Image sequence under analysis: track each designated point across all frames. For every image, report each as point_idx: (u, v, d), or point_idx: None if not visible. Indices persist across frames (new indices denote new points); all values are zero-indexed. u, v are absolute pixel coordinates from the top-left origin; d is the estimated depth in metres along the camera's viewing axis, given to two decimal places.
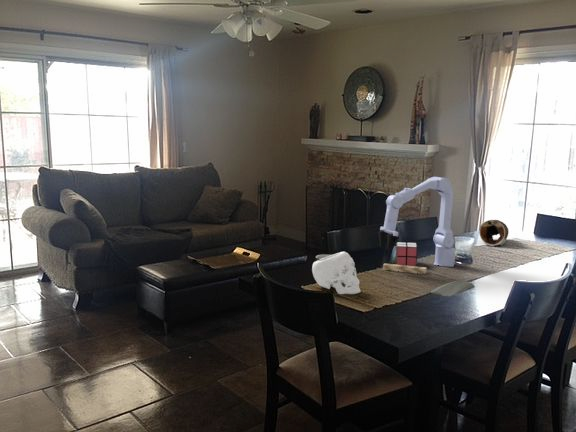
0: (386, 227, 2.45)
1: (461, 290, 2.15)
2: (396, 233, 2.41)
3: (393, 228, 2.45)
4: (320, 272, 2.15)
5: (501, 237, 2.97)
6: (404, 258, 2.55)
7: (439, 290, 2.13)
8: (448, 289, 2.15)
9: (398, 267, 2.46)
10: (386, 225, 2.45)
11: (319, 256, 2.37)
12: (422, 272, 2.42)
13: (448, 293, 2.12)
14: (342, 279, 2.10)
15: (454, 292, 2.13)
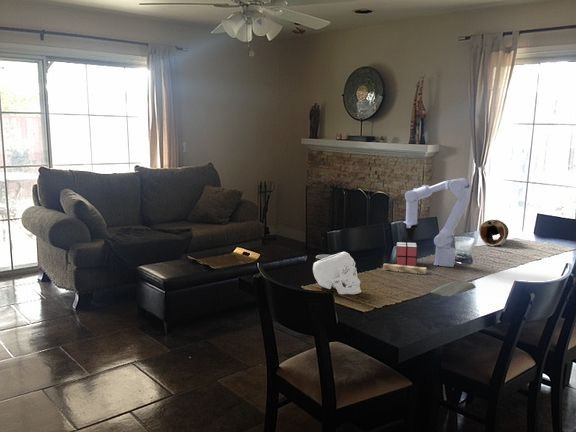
0: (406, 220, 2.67)
1: (461, 290, 2.15)
2: (408, 225, 2.61)
3: (411, 221, 2.64)
4: (320, 273, 2.15)
5: (501, 237, 2.97)
6: (404, 258, 2.55)
7: (439, 290, 2.13)
8: (448, 289, 2.15)
9: (398, 267, 2.46)
10: (406, 218, 2.67)
11: (319, 256, 2.37)
12: (422, 272, 2.42)
13: (448, 293, 2.12)
14: (343, 279, 2.10)
15: (454, 292, 2.13)
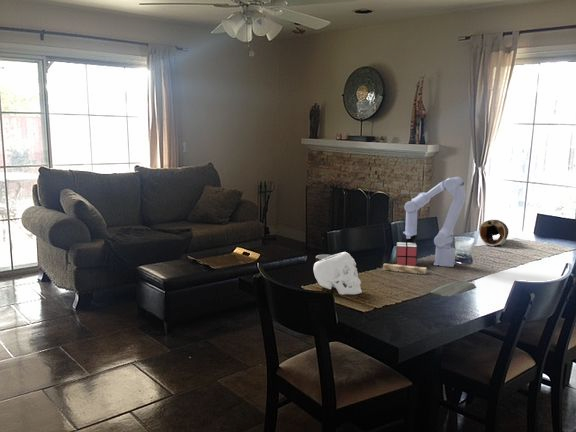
0: (405, 230, 2.67)
1: (461, 290, 2.15)
2: (408, 236, 2.61)
3: (411, 231, 2.65)
4: (321, 273, 2.15)
5: (501, 237, 2.97)
6: (404, 258, 2.55)
7: (439, 290, 2.13)
8: (448, 289, 2.15)
9: (398, 267, 2.46)
10: (405, 229, 2.68)
11: (319, 256, 2.37)
12: (422, 272, 2.42)
13: (448, 293, 2.12)
14: (343, 279, 2.10)
15: (454, 292, 2.13)
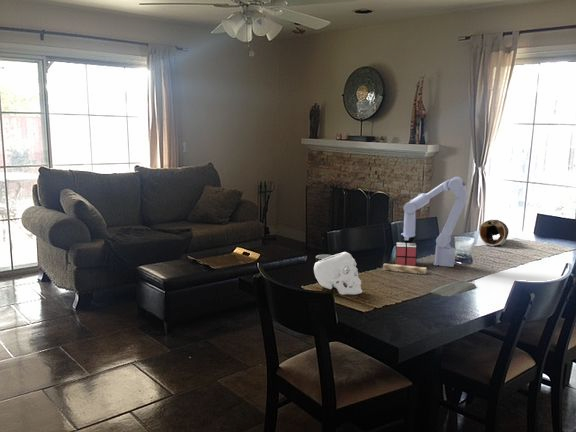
0: None
1: (462, 291, 2.15)
2: (406, 237, 2.57)
3: (409, 233, 2.61)
4: (321, 273, 2.14)
5: (501, 237, 2.97)
6: (404, 259, 2.54)
7: (439, 290, 2.13)
8: (448, 289, 2.15)
9: (398, 267, 2.46)
10: None
11: (319, 256, 2.37)
12: (422, 272, 2.42)
13: (448, 293, 2.12)
14: (344, 279, 2.10)
15: (454, 292, 2.13)
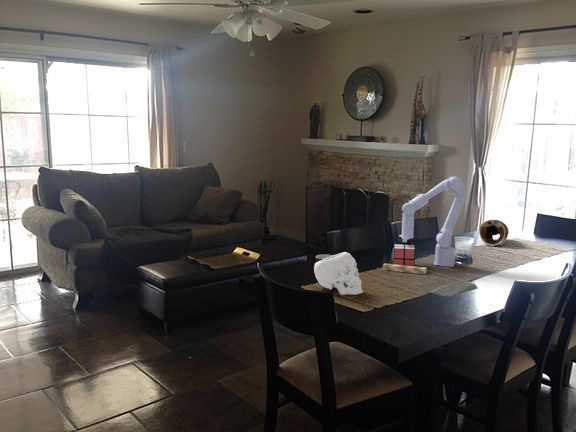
0: (402, 234, 2.59)
1: (462, 291, 2.15)
2: (404, 239, 2.53)
3: (407, 234, 2.57)
4: (322, 273, 2.14)
5: (501, 237, 2.97)
6: (402, 261, 2.50)
7: (439, 290, 2.13)
8: (448, 289, 2.15)
9: (398, 267, 2.46)
10: (402, 232, 2.59)
11: (319, 256, 2.37)
12: (422, 272, 2.42)
13: (447, 293, 2.12)
14: (344, 279, 2.10)
15: (454, 293, 2.13)
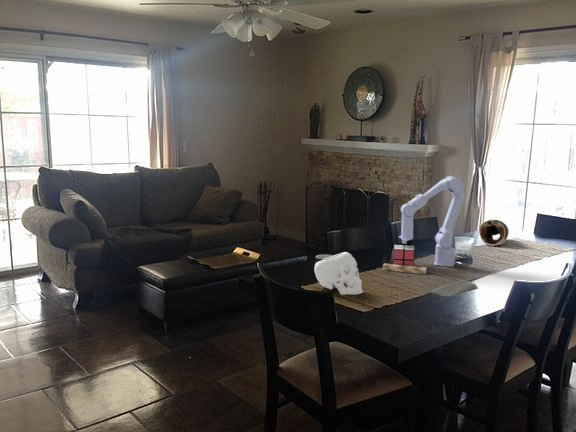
0: (401, 235, 2.57)
1: (462, 291, 2.14)
2: (404, 241, 2.51)
3: (407, 236, 2.54)
4: (322, 273, 2.14)
5: (501, 237, 2.97)
6: (401, 262, 2.49)
7: (439, 290, 2.13)
8: (448, 289, 2.15)
9: (398, 267, 2.46)
10: (401, 233, 2.57)
11: (319, 256, 2.37)
12: (422, 272, 2.42)
13: (447, 293, 2.12)
14: (344, 279, 2.10)
15: (454, 293, 2.12)
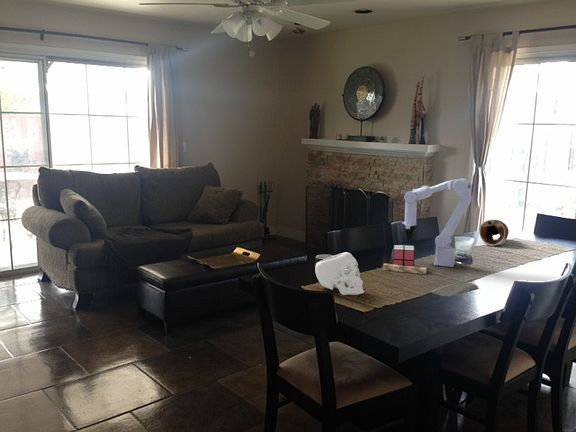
0: (405, 221, 2.64)
1: (462, 291, 2.14)
2: (407, 226, 2.58)
3: (410, 221, 2.62)
4: (323, 273, 2.14)
5: (501, 237, 2.97)
6: (401, 262, 2.49)
7: (438, 290, 2.13)
8: (448, 290, 2.15)
9: (398, 267, 2.46)
10: None
11: (319, 256, 2.37)
12: (422, 272, 2.42)
13: (447, 293, 2.12)
14: (345, 280, 2.09)
15: (454, 293, 2.12)
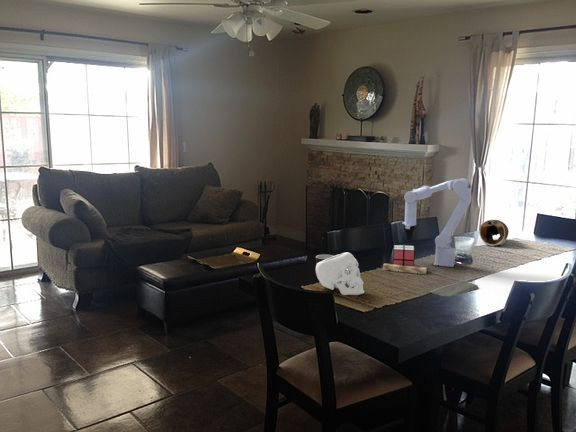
0: (405, 221, 2.64)
1: (462, 291, 2.14)
2: (407, 226, 2.58)
3: (410, 221, 2.62)
4: (323, 273, 2.14)
5: (501, 237, 2.97)
6: (401, 262, 2.49)
7: (438, 290, 2.13)
8: (448, 290, 2.15)
9: (398, 267, 2.46)
10: None
11: (319, 256, 2.37)
12: (422, 272, 2.42)
13: (447, 293, 2.11)
14: (346, 280, 2.09)
15: (454, 293, 2.12)
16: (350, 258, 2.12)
